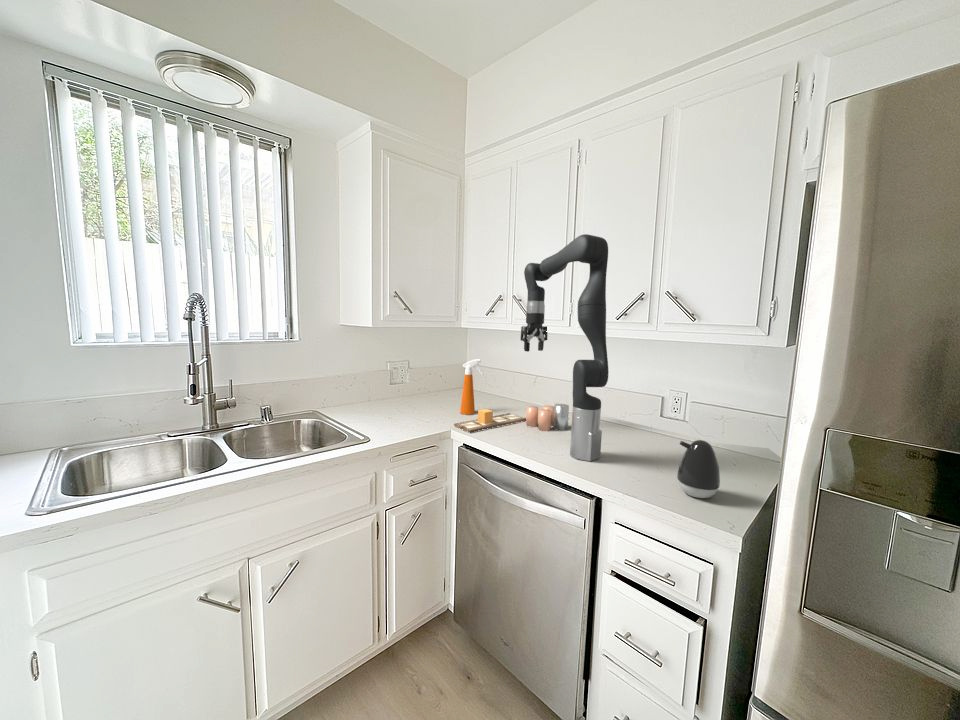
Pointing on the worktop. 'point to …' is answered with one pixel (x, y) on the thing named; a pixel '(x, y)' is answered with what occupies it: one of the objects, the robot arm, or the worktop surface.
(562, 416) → the grey tin
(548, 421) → the tan cylinder
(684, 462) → the pump dispenser
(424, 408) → the worktop surface
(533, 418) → the tan cylinder
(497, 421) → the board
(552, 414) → the tan cylinder
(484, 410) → the block
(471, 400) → the spray bottle
